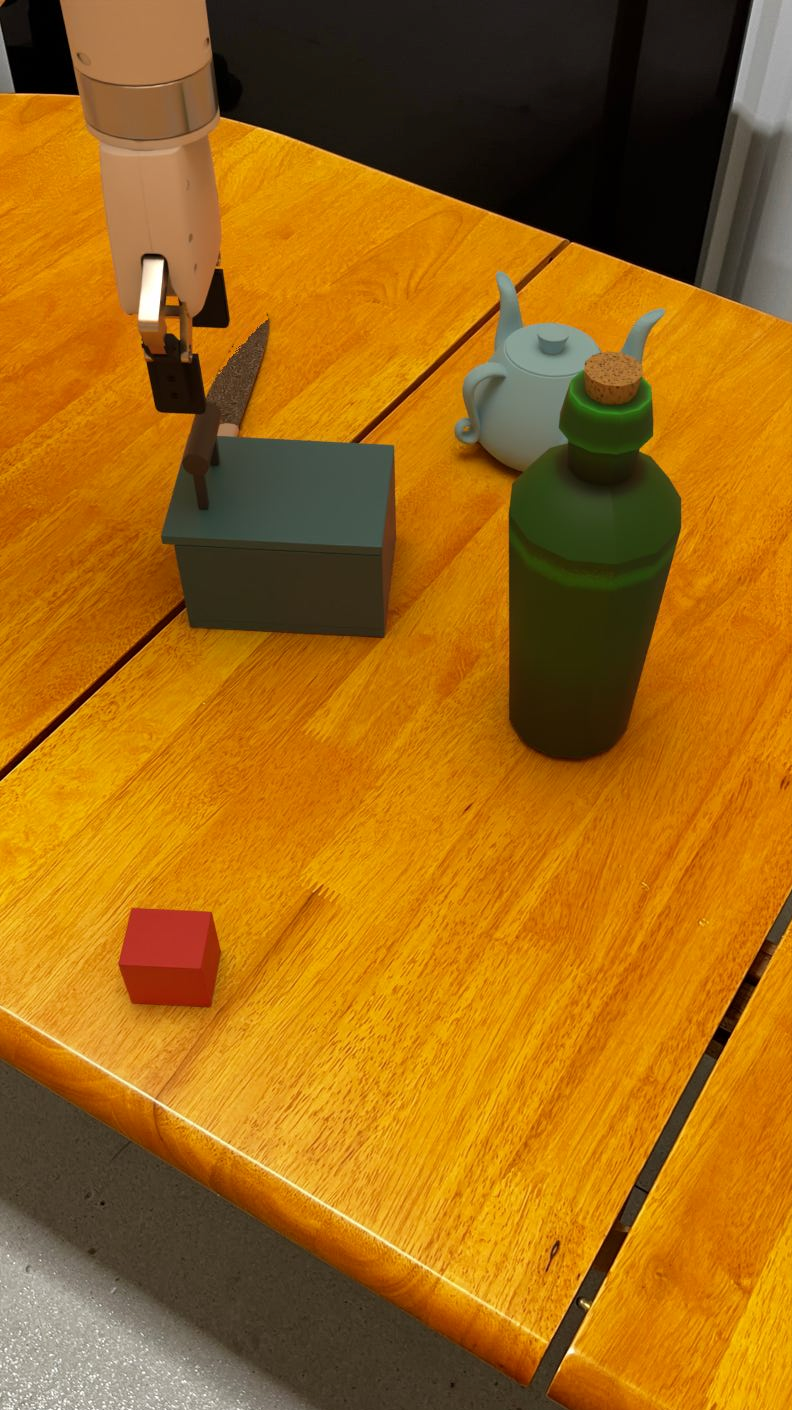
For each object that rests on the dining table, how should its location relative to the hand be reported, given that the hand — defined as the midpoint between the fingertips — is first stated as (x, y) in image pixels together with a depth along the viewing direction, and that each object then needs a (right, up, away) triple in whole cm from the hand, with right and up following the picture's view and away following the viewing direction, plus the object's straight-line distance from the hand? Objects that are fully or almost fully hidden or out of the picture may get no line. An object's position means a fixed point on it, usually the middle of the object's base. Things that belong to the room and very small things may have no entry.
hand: (194, 366), depth 87 cm
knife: (-3, +6, +27) cm, 28 cm away
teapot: (+25, +4, +27) cm, 37 cm away
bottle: (+25, -23, +7) cm, 35 cm away
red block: (0, -40, -7) cm, 40 cm away
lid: (+5, -6, +8) cm, 11 cm away
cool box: (+5, -11, +15) cm, 19 cm away
